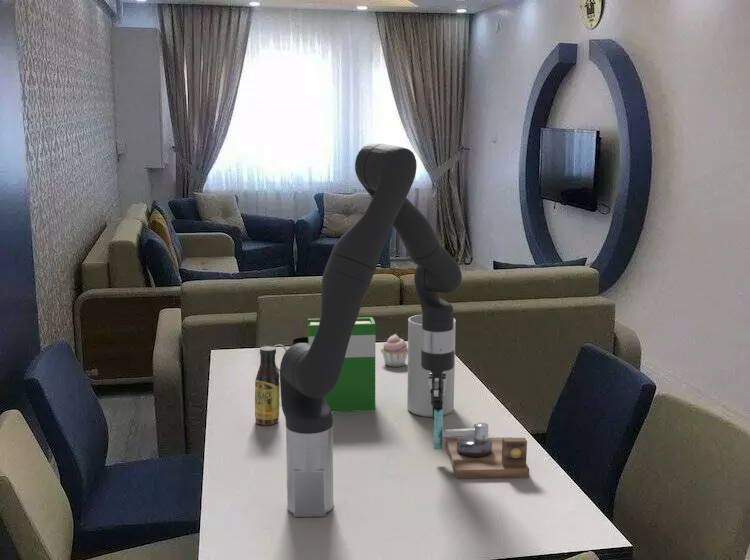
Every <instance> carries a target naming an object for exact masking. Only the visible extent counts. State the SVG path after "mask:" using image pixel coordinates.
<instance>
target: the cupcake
mask: <svg viewBox="0 0 750 560" xmlns="http://www.w3.org/2000/svg"><path fill="white" fill-rule="evenodd" d="M380 352H381V354H382V357H383V361H384V364H385V366H387V367H391V368H399V367H403V366H404V365H405V364H406V360H407V358H408V343H406V341H405V340H404V339H403V338H400V337H399V336H398V335H397V333H394V334H392V335H391V336H389V338H388V339H387V340H386V341H385V343H384V344H383V347H382V349H381V348H380Z"/></svg>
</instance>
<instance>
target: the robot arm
mask: <svg viewBox="0 0 750 560" xmlns="http://www.w3.org/2000/svg"><path fill="white" fill-rule="evenodd" d="M354 162H355V163H354V169H355V170H354V171H355V175H356V177H357V179H358V181H359V182H360V184H361V186H362V187H363V188H364V189H365V191H366V192H367V193H368V194H369V196H370V197H371V201H370V203H369V205H368V207H367V208H366V210H365V211H364V213H363V214H362V216H360V218H358V220H357V221H356V222H355V223H353V225H351V227H349V228H348V229H347V231H345V232H344V233H343V234H342V235H341V237H340V238H339V239H338V240H337V241H336V243H335V244H334V246H333V248H332V251H331V252H330V255H329V258H328V261H327V263H326V266H325V268H324V271H323V274H322V278H321V287H320V288H321V290H320V291H321V292H320V293H321V295H320V297H321V299H320V303H321V305H320V309H321V310H320V318H319V319H320V323H319V326H318V330H317V332H316V335H315V337H314V340H313V342H312V345H311V344H308V343H298V344H295V345H293V346H292V345H291V346H290V347H288V349H286V350H287V351H286V352H284V354H283V356H282V358H281V361H280V366H279V369H280V372H279V383H280V403H281V410H282V413H283V415H284V418H285V437H286V438H285V443H286V445H285V449H286V451H285V453H286V457H285V458H286V490H287V491H286V494H287V495H286V499H287V501H286V502H287V507H286V508H287V509H288V511H289V512H290V513H292V514H293V517H295V518H298V517H300V518H302V517H304V518H307V517H308V518H309V517H316V518H317V517H326V514H327V513H329V512H330V511H332V509H333V508H334V442H333V441H334V421H333V419H334V415H333V412H332V411H331V409H330V407H329V406H328V404H327V402H326V400H325V398H324V396H326V395H327V394H329V393H330V392H331V391H332V390H333V388H334V387H335V385H336V383H337V381H338V379H339V376H340V373H341V370H342V366H343V362H344V359H345V355H346V351H347V347H348V344H349V340H350V337H351V333H352V330H353V327H354V325H355V322H356V319H357V318H359V317H358V316H359V313H360V311H361V308H362V305H363V303H364V299H365V297H366V295H367V293H368V290H369V288H370V285H371V282H372V279H373V278H374V274H375V272H376V269H377V266H378V263H379V261H380V257H381V255H382V252H383V250H384V247H385V245H386V242H387V240H388V237H389V236H390V232H391V230H392V227H393V228H394V230H395V232H396V233H397V234H398V237H399V239H400V240H401V242H402V244H403V246H404V248H405V249H406V251H407V254H408V255H409V257H410V259H411V261H412V262H413V263H415V264H416V267H415V269H414V273H413V274H414V276H413V278H414V279H413V280H414V285H415V289H416V292H417V297H418V300H419V305H420V307H421V315H422V335H421V366H422V368H423V369H425V370H429V371H431V372H432V373H429V385H430V396H431V404H432V405H433V417H432V421H434V410H435V409H442V410H443V401H444V399H443V397H444V396H445V385H446V379H447V374H444V373H443V371H448V370H451V369H452V368H453V367H454V331H453V318H454V307H453V305H452V304H451V303H450V302H448V301H446V300H445V299H443V298H441V296H440V294H439V293H443V294H453V293H455V292H456V291H458V289H459V288H460V286H461V284H462V281H463V275H462V270H461V267H460V265H459V264H458V262H457V261H456V259H455V257H453V256H452V255H451V254H450V253H449V252H448V251H447V250H446V249H445V247H444V246H442V244H441V243H440V241H439V239H438V237H437V235H436V232H435V231H434V228H433V226H432V224H431V223H430V221H428V218H426V216H425V215H424V214H423V213H422V212H421V211H420V210H419V209H418V208H417V207H416V206H415V205H414V204H413V203H412V202H411V201H410V199H409V198H408V195H409V193H410V191H411V188H412V186H413V184H414V181H415V177H416V174H417V165H418V164H417V159H416V155H415V154H414V152H413V151H412V150H411V149H409V148H406V147H404V146H402V147H401V146H397V145H393V144H391V145H390V144H384V143H369V144H365V145H364V146H362V148H361V149H360V150H359V151H358V153H357V155H356V158H355V160H354Z"/></svg>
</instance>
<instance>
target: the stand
mask: <svg viewBox="0 0 750 560" xmlns="http://www.w3.org/2000/svg"><path fill="white" fill-rule="evenodd" d="M458 438H459V437H445V448H446V452H447V455H448V457H449V460H450V461H449V462H450V465H451V468H452V470H453V474H454V477H455V479H456V480H457V479H512V478H513V479H514V478H515V479H523V478H525V479H527V478H530V467H529V466H528V464H527V453H528V451H527V450H528V440H527V439H526V437H511V436H508V437H507V436H506V437H505V436H504V437H501V436H499V437H494V436H493V437H488V439H490V440H491V441H492V452H491V454H490V455H488V456H484V457H468V456H464V455H462V454H460V453H458V452H457V439H458Z"/></svg>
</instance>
